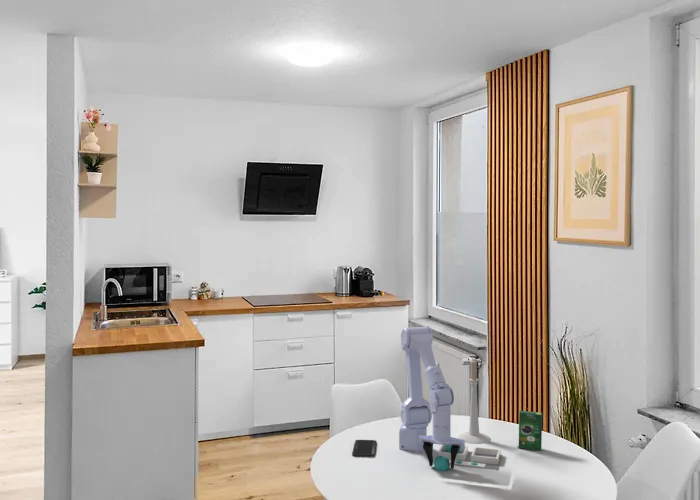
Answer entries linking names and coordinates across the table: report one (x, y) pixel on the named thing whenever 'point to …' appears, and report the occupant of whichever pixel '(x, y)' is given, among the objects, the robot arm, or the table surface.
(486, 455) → the sorting tray
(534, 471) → the table surface
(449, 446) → the seated teal ball
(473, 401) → the candlestick
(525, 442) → the coffee box
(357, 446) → the phone
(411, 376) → the robot arm
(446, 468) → the loose teal ball
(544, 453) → the table surface
